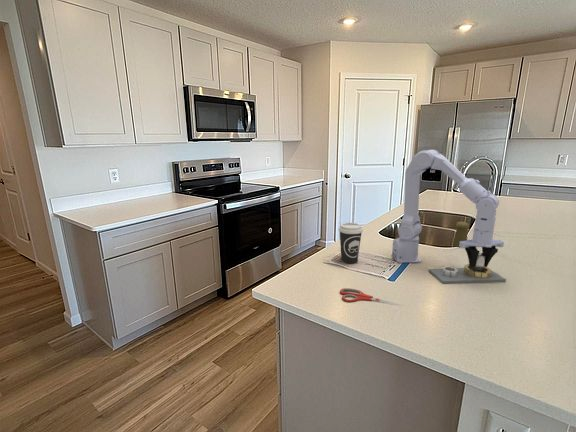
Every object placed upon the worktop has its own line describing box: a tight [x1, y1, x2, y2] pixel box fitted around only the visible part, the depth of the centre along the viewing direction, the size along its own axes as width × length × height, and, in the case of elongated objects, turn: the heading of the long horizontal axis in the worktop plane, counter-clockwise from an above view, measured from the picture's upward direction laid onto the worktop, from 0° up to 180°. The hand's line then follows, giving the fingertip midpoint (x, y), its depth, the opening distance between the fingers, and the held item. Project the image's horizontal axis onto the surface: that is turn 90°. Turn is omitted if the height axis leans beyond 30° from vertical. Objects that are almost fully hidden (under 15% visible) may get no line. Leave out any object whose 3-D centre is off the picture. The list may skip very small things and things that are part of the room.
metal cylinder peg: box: [471, 252, 486, 272], centre depth 110 cm, size 4×4×6 cm
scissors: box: [339, 287, 403, 307], centre depth 97 cm, size 8×21×2 cm, turn 78°
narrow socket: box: [441, 265, 458, 278], centre depth 110 cm, size 5×5×2 cm
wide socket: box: [463, 263, 492, 279], centre depth 110 cm, size 8×8×2 cm
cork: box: [452, 221, 470, 248], centre depth 140 cm, size 6×6×11 cm
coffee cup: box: [338, 222, 364, 265], centre depth 124 cm, size 10×10×15 cm
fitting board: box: [428, 267, 507, 285], centre depth 111 cm, size 22×10×1 cm, turn 92°
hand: (477, 266), depth 110 cm, fingers closed on metal cylinder peg, 4 cm apart
